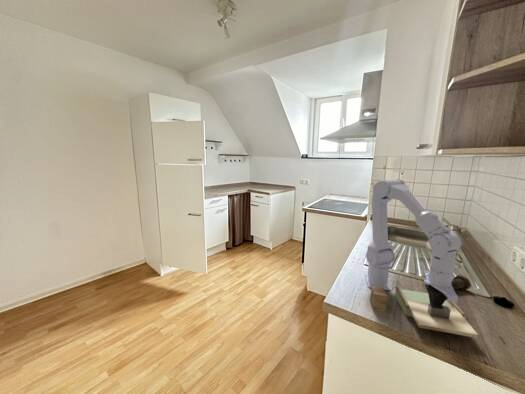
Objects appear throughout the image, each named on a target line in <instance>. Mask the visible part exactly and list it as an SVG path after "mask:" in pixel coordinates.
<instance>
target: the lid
mask: <svg viewBox="0 0 525 394" xmlns="http://www.w3.org/2000/svg"><path fill="white" fill-rule="evenodd" d="M407 302H408V304H409V310H410V312H411V314H412V316H413V317H412V318H413V319H414V321H415V323H416V325H417V326H418V328H420V329H425V330H432V331H435V332H441V333H442V332H443V333H447V334H453V335H459V336H463V337H470V338H475V339H476V338H477V339H478V338H479V333H478V332H477V331H476V330H475V329H474V328H473V326H472V325H471V324H470V323H469V322H468V321H467V320H466V318H465V316H464V317H463V316H462V315H461V314H460V313H459V311H458V310H457V309H456V308H455V307H450V306H443V305H435V304H430V303H424V302H417V301H410V300H407Z"/></svg>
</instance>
